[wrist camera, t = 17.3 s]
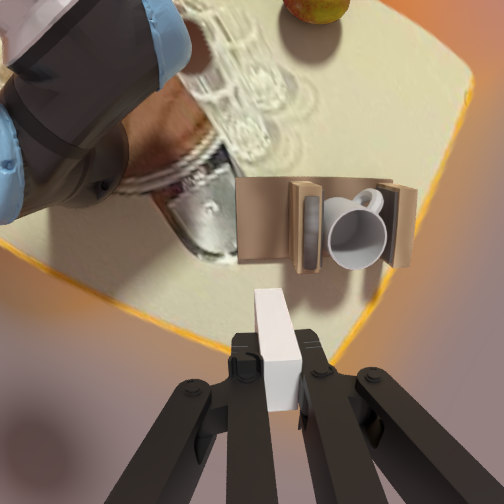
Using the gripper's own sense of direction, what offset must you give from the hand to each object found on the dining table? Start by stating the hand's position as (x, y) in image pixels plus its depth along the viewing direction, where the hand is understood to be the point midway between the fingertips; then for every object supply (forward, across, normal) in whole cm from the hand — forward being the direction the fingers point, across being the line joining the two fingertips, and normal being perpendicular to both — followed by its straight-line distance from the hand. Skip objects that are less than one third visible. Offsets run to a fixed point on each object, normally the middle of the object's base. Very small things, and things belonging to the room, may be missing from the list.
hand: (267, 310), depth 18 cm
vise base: (+26, +9, 0) cm, 28 cm away
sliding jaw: (+25, +6, 0) cm, 26 cm away
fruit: (+27, +9, +32) cm, 42 cm away
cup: (+26, +12, 0) cm, 28 cm away
